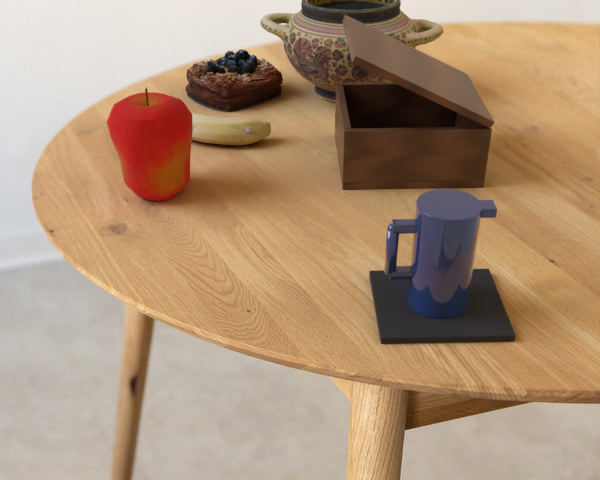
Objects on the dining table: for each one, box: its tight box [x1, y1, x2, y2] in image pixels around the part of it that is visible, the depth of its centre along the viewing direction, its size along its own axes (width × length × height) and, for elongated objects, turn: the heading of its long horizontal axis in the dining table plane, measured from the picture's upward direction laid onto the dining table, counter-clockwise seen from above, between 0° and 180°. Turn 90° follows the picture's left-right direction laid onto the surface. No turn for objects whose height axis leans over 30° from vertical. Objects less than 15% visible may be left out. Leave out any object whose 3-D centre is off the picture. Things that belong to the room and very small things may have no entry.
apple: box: [106, 86, 193, 202], centre depth 82 cm, size 9×8×12 cm
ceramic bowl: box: [259, 0, 444, 103], centre depth 106 cm, size 24×18×15 cm
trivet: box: [368, 268, 517, 344], centre depth 68 cm, size 11×10×1 cm
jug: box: [383, 188, 498, 319], centre depth 65 cm, size 8×5×10 cm, turn 91°
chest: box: [334, 81, 493, 190], centre depth 90 cm, size 16×15×7 cm
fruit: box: [190, 111, 272, 146], centre depth 97 cm, size 7×15×3 cm, turn 55°
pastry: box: [184, 49, 284, 113], centre depth 108 cm, size 11×12×6 cm
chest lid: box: [342, 15, 495, 129], centre depth 86 cm, size 16×15×1 cm
